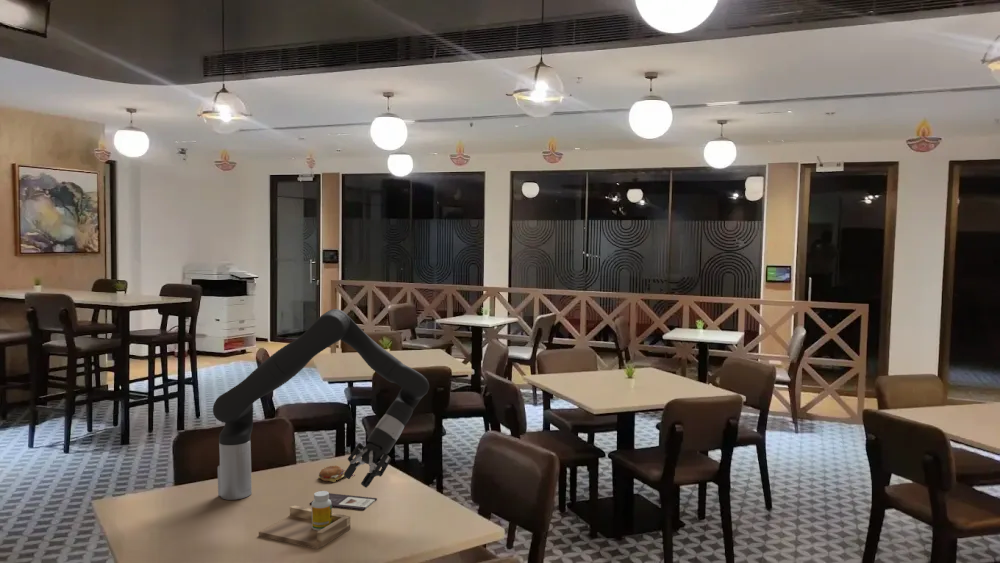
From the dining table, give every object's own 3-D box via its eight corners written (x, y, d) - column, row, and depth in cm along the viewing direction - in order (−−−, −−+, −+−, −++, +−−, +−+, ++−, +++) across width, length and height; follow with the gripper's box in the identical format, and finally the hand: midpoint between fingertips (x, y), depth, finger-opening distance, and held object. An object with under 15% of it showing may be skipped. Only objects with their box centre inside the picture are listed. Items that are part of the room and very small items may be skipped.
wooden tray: (258, 536, 191) (258, 523, 191) (293, 517, 204) (293, 505, 203) (317, 549, 183) (317, 535, 182) (350, 528, 195) (350, 516, 195)
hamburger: (339, 488, 229) (339, 470, 229) (307, 481, 236) (307, 464, 235) (367, 475, 241) (366, 458, 241) (336, 469, 248) (335, 452, 248)
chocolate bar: (324, 492, 222) (376, 498, 217) (324, 495, 222) (376, 501, 217) (309, 503, 214) (363, 508, 209) (309, 506, 214) (363, 511, 209)
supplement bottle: (310, 525, 195) (309, 491, 194) (329, 522, 197) (329, 488, 196) (314, 532, 190) (313, 498, 189) (333, 529, 192) (333, 494, 192)
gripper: (364, 421, 211) (332, 468, 204) (393, 432, 201) (361, 482, 194) (379, 434, 215) (348, 480, 209) (408, 445, 206) (377, 495, 199)
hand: (354, 481), depth 202 cm, fingers open, 8 cm apart
